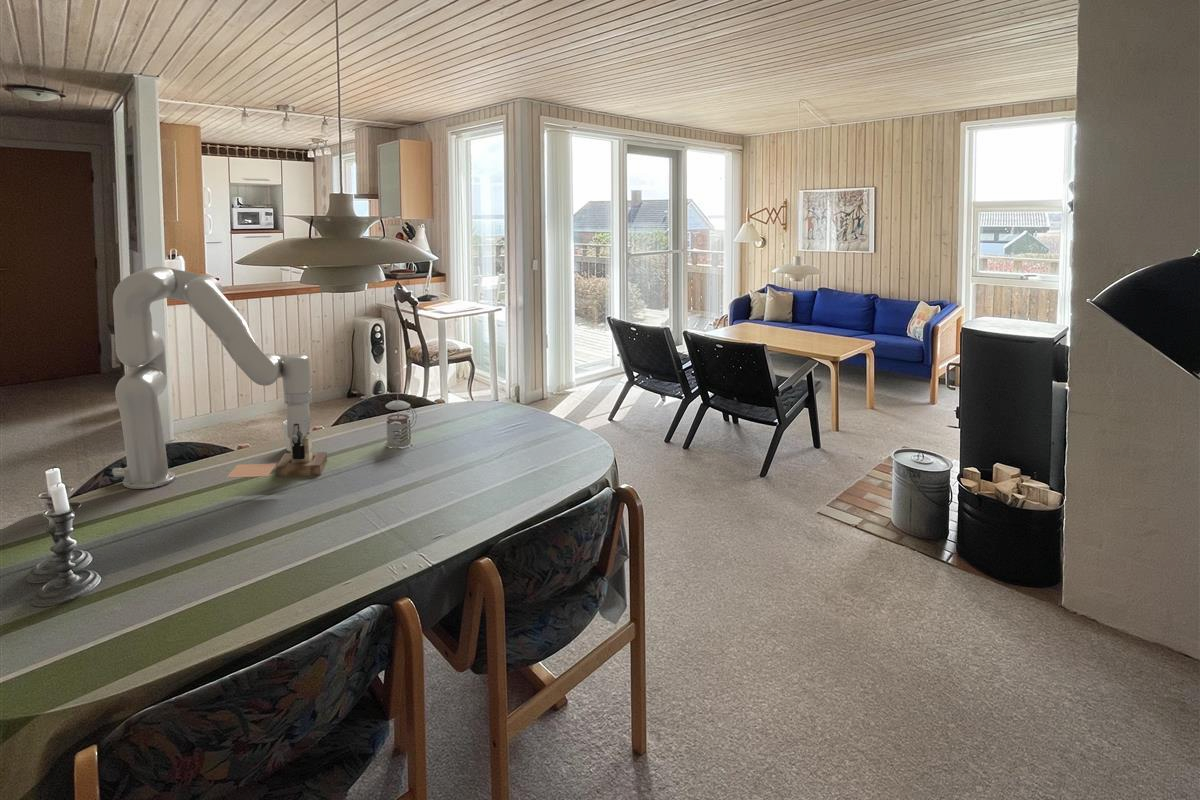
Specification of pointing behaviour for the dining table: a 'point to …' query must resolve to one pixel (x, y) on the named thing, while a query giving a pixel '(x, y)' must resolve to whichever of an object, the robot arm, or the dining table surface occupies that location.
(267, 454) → the dining table surface
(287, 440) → the white cup
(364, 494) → the dining table surface
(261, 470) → the terracotta tile
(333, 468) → the dining table surface
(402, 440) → the french press
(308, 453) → the birch peg
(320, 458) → the walnut holder
